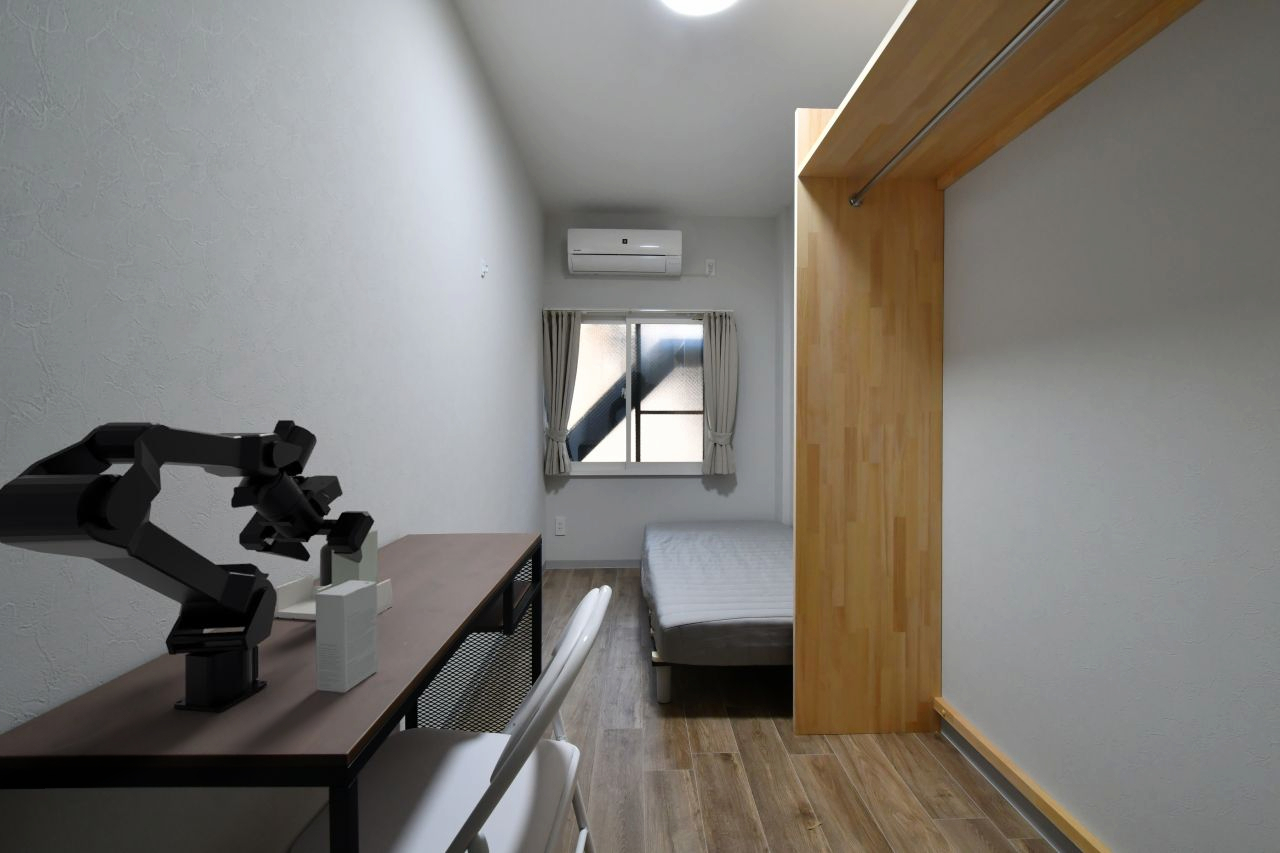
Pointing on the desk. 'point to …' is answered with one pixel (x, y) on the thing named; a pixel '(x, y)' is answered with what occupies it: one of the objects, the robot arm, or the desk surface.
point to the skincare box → (346, 635)
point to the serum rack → (301, 598)
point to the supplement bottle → (325, 565)
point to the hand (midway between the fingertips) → (334, 559)
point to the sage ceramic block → (357, 564)
